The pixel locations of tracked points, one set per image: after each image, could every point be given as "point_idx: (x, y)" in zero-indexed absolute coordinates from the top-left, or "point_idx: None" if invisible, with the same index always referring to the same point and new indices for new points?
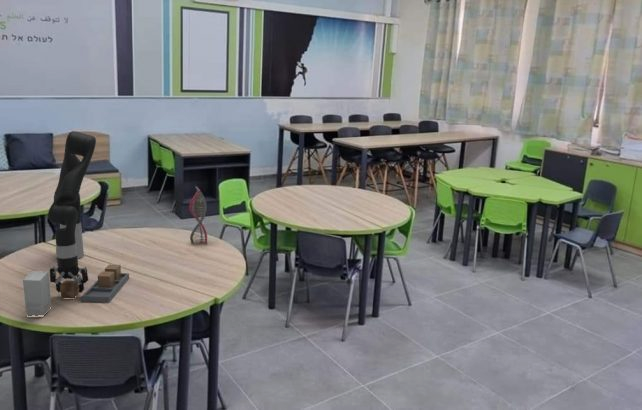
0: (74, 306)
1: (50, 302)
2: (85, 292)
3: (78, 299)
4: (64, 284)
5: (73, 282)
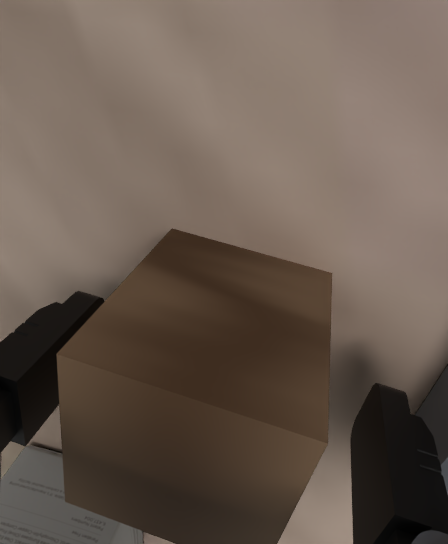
0: (316, 508)
1: (117, 541)
2: (444, 462)
3: (340, 405)
4: (118, 500)
5: (249, 488)
